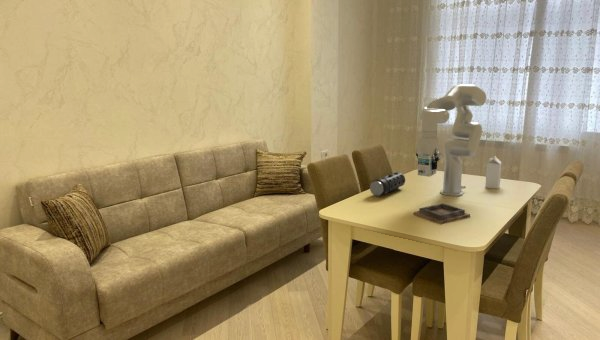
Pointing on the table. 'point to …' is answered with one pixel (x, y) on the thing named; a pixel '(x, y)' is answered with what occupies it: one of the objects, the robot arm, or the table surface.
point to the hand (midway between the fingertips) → (427, 167)
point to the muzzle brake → (387, 184)
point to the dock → (441, 213)
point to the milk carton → (493, 173)
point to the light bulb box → (425, 165)
